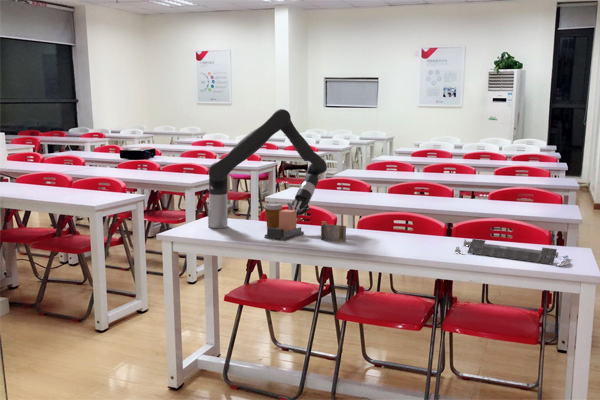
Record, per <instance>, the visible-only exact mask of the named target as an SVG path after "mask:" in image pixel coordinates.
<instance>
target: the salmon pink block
mask: <svg viewBox="0 0 600 400" xmlns="http://www.w3.org/2000/svg"><path fill="white" fill-rule="evenodd" d="M296 213H297V211H295V210H293V209H292V210H289V209H282V210H281V211H279V229H284V232H285V231H288V230H292V229H295V228H297V218H296Z"/></svg>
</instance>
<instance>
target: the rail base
mask: <svg viewBox="0 0 600 400" xmlns="http://www.w3.org/2000/svg"><path fill="white" fill-rule="evenodd" d="M303 235H305V231H303V230H302V226H299V227H296V228H295V229H292V230H288V231H285V232H284V229H279V228H271V227H269V228H268V227H266V234H264V239H269V240H276V241H283V242H284V241H288V240H291V239H294V238H297V237H301V236H303Z"/></svg>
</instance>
